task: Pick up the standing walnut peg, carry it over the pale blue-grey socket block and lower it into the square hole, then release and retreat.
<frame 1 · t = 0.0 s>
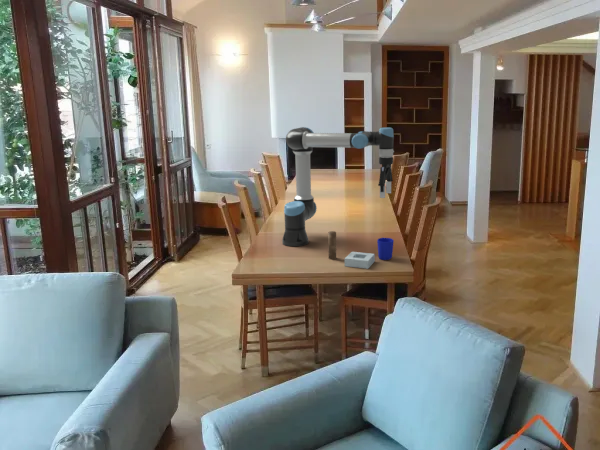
hand: (385, 195, 283), 28 cm above the table, fingers open, 13 cm apart
mug: (384, 257, 267), on the table
peg: (332, 258, 268), on the table
socket: (359, 263, 258), on the table
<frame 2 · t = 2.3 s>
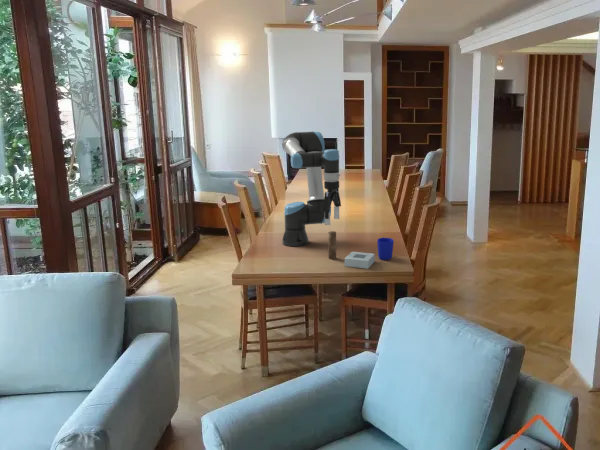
hand: (332, 221, 263), 19 cm above the table, fingers open, 13 cm apart
nothing on the table moved.
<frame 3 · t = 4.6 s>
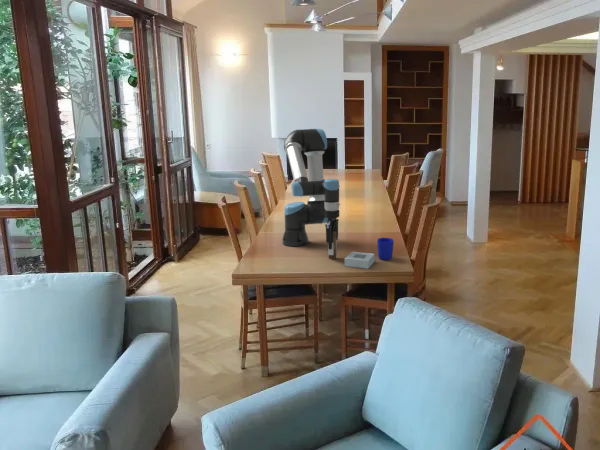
hand: (332, 253, 267), 3 cm above the table, fingers closed on peg, 4 cm apart
peg: (332, 258, 268), on the table, touching gripper
everything else where it was.
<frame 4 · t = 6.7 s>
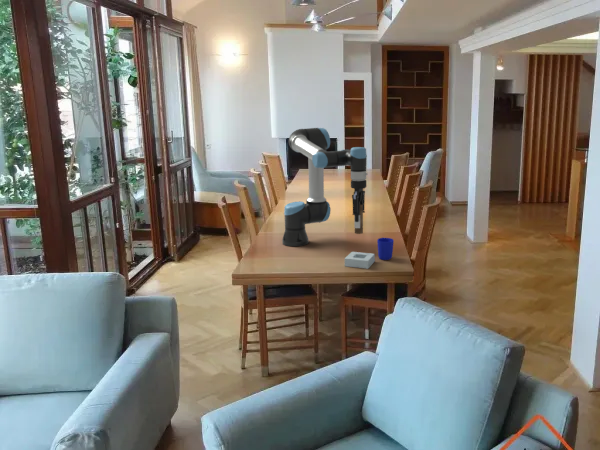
hand: (358, 226, 253), 19 cm above the table, fingers closed on peg, 4 cm apart
peg: (358, 232, 254), point 16 cm above the table, touching gripper
everything else where it was.
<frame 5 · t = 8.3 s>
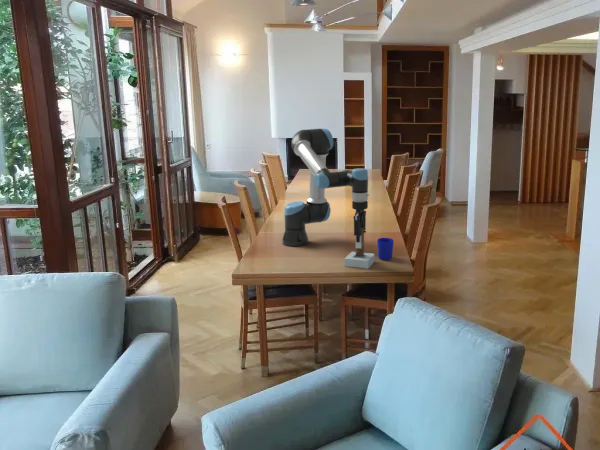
hand: (359, 246, 256), 9 cm above the table, fingers closed on peg, 4 cm apart
peg: (359, 255, 257), point 4 cm above the table, touching gripper
everything else where it was.
when the fingers open (6 cm above the table, at t = 9.3 s): peg stays where it is, on the table.
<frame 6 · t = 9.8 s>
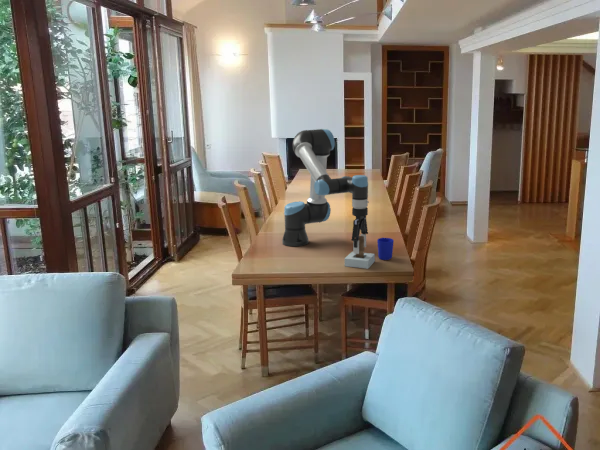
hand: (359, 250, 256), 7 cm above the table, fingers open, 11 cm apart
peg: (359, 263, 258), on the table
everything else where it was.
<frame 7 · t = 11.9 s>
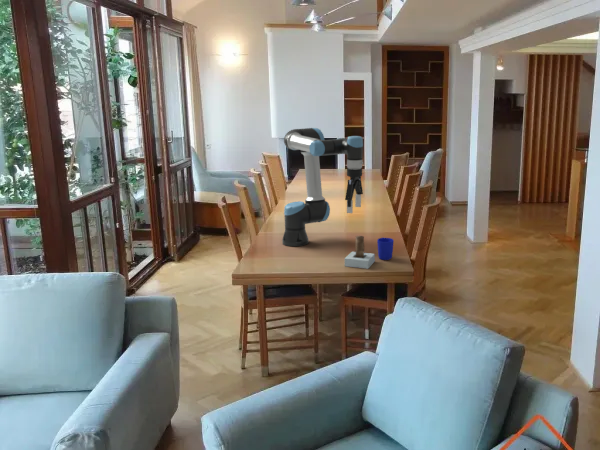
hand: (353, 209, 259), 26 cm above the table, fingers open, 13 cm apart
nothing on the table moved.
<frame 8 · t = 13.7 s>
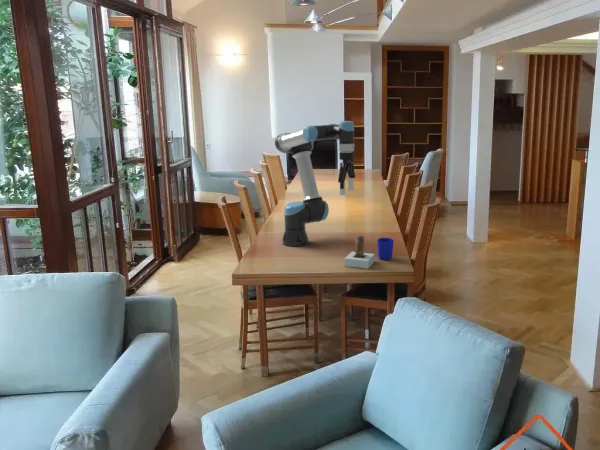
hand: (346, 192, 269), 33 cm above the table, fingers open, 13 cm apart
nothing on the table moved.
at the end: peg 0.0 cm off-centre on the socket, point 0.0 cm above the socket's base; peg tilted 1°; the gripper is holding nothing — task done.
